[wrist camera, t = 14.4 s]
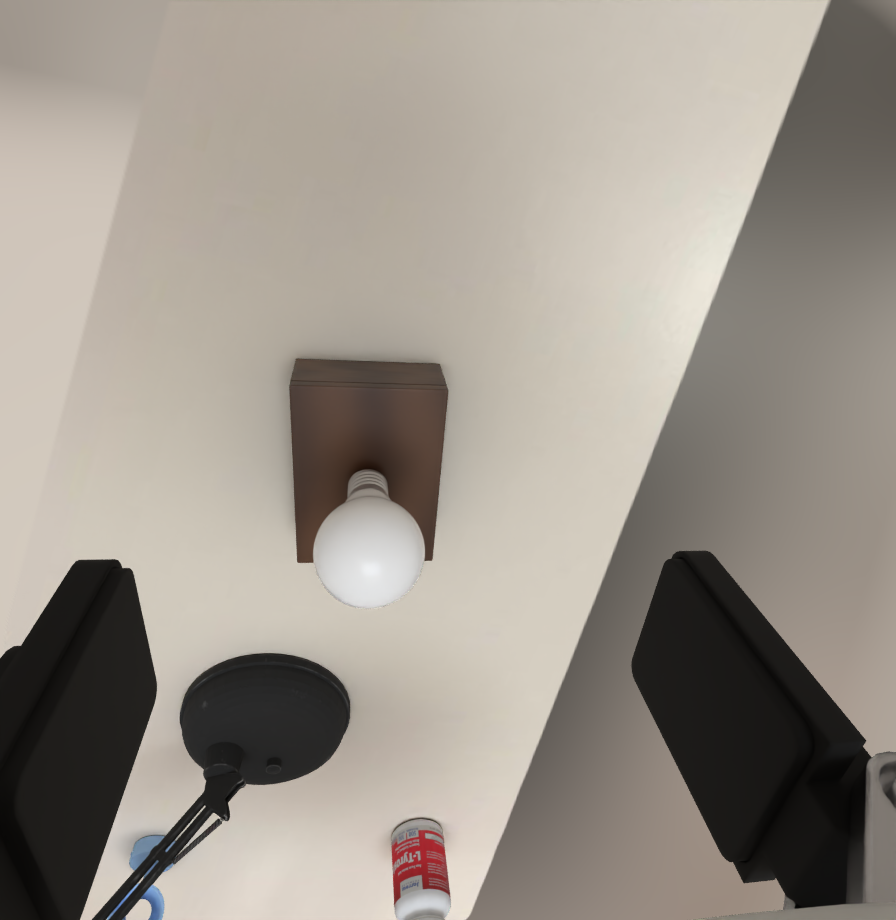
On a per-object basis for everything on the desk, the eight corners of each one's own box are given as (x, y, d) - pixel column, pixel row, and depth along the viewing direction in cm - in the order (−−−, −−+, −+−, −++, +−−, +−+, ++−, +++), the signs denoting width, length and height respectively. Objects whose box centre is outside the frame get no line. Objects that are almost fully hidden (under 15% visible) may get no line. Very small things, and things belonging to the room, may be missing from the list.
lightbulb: (357, 533, 43) (358, 650, 34) (301, 473, 40) (283, 582, 31) (431, 488, 42) (452, 595, 33) (378, 422, 39) (385, 520, 30)
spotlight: (135, 825, 64) (129, 861, 67) (100, 935, 55) (95, 971, 58) (184, 827, 65) (176, 863, 68) (157, 935, 56) (150, 970, 59)
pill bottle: (414, 811, 69) (424, 921, 60) (452, 826, 72) (467, 934, 62) (380, 837, 71) (383, 948, 61) (418, 851, 74) (427, 960, 64)
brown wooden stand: (302, 525, 48) (297, 563, 44) (296, 358, 41) (289, 385, 37) (426, 524, 49) (432, 561, 45) (439, 363, 43) (448, 389, 39)
